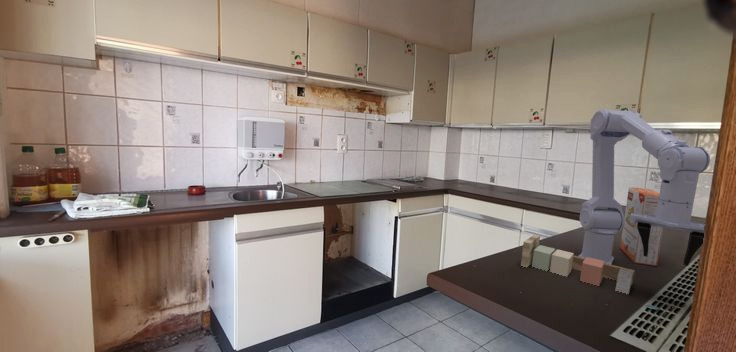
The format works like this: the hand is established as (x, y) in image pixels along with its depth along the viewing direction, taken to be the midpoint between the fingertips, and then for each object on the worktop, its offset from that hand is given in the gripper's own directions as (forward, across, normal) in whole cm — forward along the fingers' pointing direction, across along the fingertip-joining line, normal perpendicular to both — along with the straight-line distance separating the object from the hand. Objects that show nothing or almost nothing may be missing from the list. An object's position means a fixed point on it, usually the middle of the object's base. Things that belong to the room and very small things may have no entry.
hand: (665, 259), depth 76 cm
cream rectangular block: (+10, -20, 0) cm, 22 cm away
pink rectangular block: (+10, -13, 0) cm, 16 cm away
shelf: (+9, -17, 0) cm, 19 cm away
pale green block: (+10, -24, 0) cm, 26 cm away
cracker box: (+10, -6, +31) cm, 33 cm away
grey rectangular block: (+10, -6, 0) cm, 12 cm away
